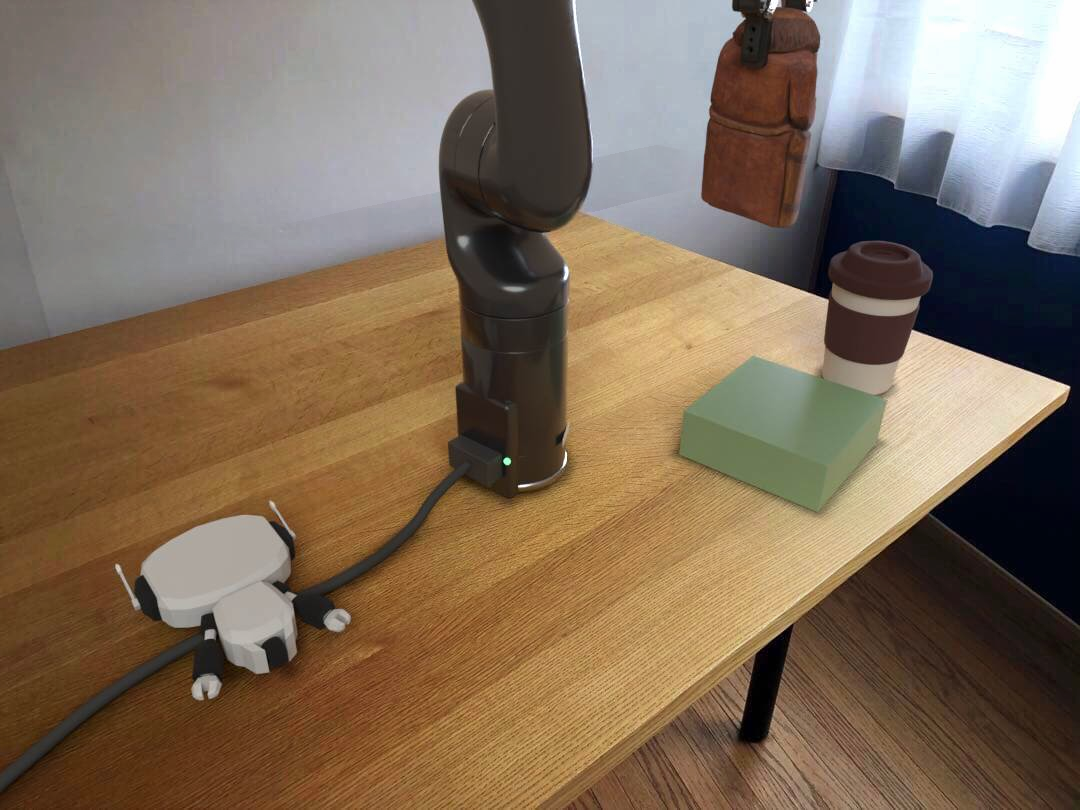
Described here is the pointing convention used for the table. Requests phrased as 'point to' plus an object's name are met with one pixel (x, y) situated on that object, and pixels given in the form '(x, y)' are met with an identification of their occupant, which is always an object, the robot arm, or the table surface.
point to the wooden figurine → (763, 123)
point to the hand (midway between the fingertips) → (770, 60)
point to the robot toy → (231, 595)
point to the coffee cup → (871, 313)
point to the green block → (782, 430)
